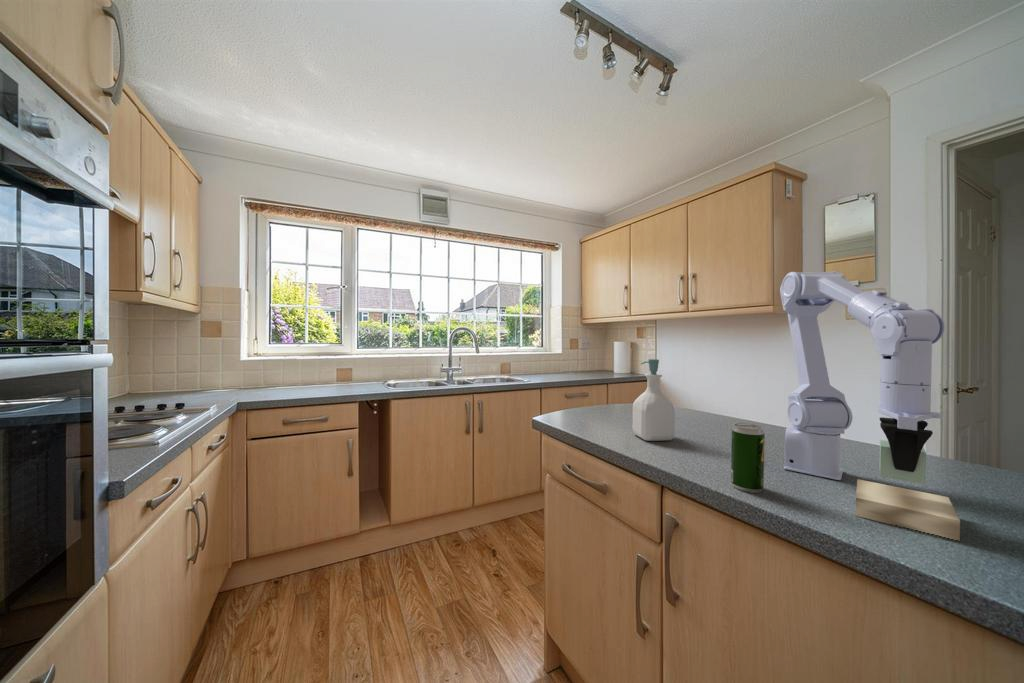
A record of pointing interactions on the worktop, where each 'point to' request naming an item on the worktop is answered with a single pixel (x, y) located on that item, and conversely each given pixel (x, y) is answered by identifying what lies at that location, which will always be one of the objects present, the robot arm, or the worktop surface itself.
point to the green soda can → (747, 457)
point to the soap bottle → (653, 410)
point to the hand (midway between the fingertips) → (903, 465)
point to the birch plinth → (907, 509)
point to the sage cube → (890, 471)
